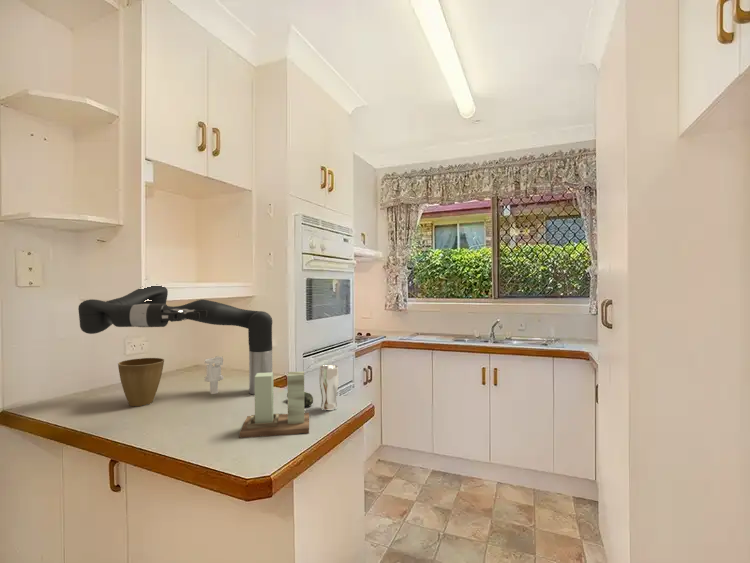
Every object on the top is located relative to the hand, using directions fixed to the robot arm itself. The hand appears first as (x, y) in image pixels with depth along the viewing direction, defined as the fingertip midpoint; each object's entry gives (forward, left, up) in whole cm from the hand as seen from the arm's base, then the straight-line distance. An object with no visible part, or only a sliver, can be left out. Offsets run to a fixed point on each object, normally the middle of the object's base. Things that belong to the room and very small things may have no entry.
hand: (203, 314), depth 126 cm
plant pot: (-24, -28, -35) cm, 51 cm away
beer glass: (-6, +41, -35) cm, 54 cm away
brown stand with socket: (+9, +24, -35) cm, 43 cm away
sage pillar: (+9, +20, -34) cm, 40 cm away
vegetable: (-14, +31, -35) cm, 49 cm away
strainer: (-34, -5, -35) cm, 49 cm away
